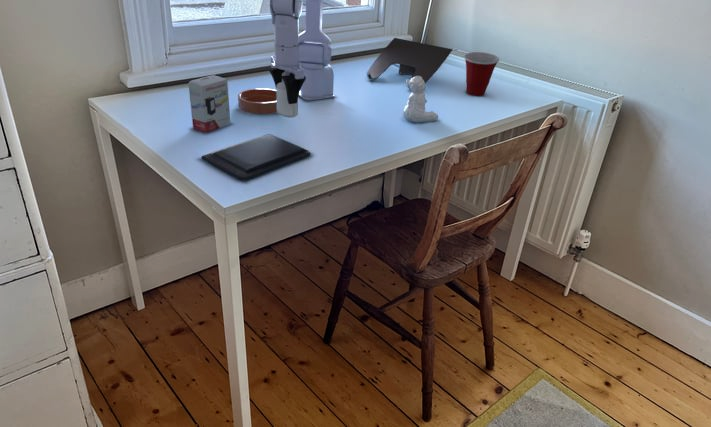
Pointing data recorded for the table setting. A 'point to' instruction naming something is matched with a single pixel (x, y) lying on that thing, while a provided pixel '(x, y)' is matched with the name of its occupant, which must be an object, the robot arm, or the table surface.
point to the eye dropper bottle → (285, 101)
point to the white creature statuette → (417, 102)
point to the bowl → (258, 101)
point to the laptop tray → (410, 59)
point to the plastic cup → (479, 71)
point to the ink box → (209, 103)
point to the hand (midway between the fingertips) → (287, 99)
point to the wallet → (256, 157)
